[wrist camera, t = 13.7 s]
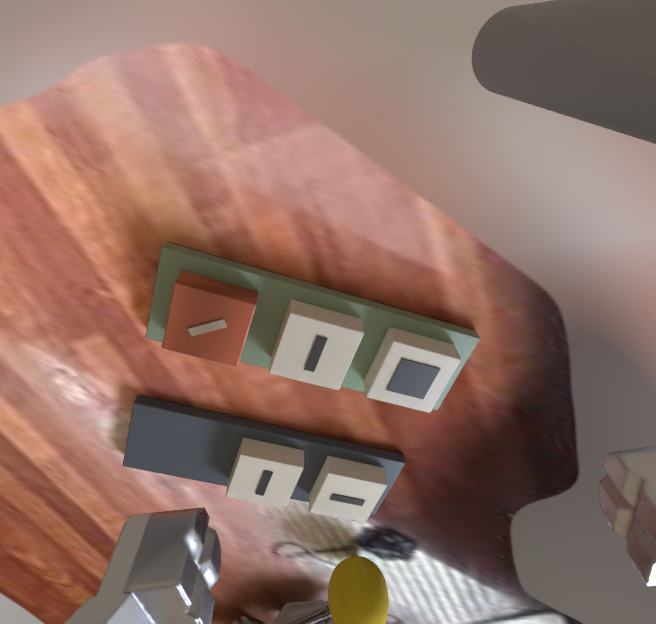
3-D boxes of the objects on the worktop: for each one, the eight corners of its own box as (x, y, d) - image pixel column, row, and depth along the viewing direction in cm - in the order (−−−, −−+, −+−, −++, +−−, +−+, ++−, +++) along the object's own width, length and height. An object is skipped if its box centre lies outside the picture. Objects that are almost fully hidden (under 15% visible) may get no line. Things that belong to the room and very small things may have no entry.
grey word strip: (403, 453, 40) (410, 482, 37) (373, 505, 43) (377, 534, 41) (137, 394, 36) (124, 421, 33) (126, 456, 39) (113, 485, 36)
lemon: (317, 563, 47) (318, 653, 41) (342, 532, 45) (348, 622, 38) (365, 576, 49) (375, 665, 42) (392, 546, 46) (406, 635, 39)
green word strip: (476, 330, 34) (489, 354, 31) (434, 402, 37) (443, 428, 35) (165, 241, 30) (152, 260, 27) (149, 330, 33) (136, 354, 30)
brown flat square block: (259, 291, 30) (256, 305, 29) (241, 351, 33) (237, 368, 31) (181, 269, 29) (173, 283, 28) (168, 333, 32) (160, 349, 30)
